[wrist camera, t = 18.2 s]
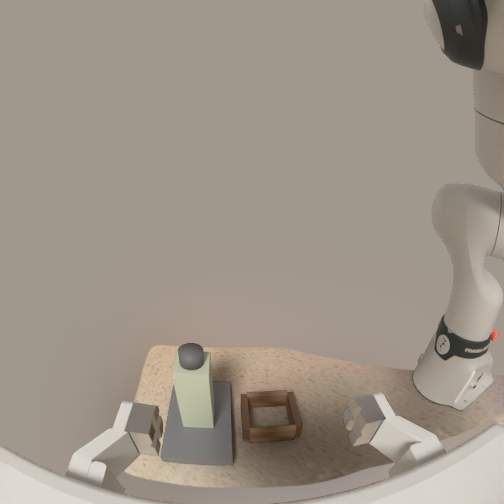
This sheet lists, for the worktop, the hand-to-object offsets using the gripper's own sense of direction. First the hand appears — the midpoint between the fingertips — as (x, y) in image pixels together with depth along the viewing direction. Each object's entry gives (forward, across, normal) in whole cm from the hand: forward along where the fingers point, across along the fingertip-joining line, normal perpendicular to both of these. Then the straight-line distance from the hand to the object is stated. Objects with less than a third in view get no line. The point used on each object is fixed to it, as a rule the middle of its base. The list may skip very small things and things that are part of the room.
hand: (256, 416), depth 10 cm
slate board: (+20, +6, +28) cm, 35 cm away
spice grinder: (+20, +6, +26) cm, 34 cm away
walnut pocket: (+20, -5, +28) cm, 35 cm away
